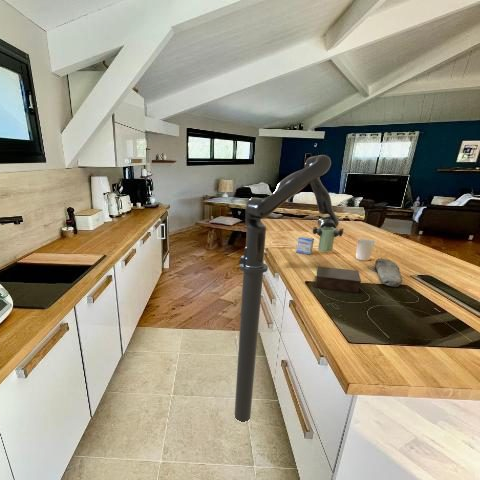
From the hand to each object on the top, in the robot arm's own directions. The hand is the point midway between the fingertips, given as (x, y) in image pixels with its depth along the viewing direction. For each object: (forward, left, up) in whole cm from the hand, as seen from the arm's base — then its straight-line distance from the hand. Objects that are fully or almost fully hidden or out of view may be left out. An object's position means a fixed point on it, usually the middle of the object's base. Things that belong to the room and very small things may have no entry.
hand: (327, 234), depth 143 cm
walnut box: (+6, -18, -17) cm, 26 cm away
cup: (0, +2, -8) cm, 8 cm away
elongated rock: (+28, +4, -18) cm, 33 cm away
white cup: (+20, +29, -18) cm, 39 cm away
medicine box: (-10, +30, -18) cm, 36 cm away
